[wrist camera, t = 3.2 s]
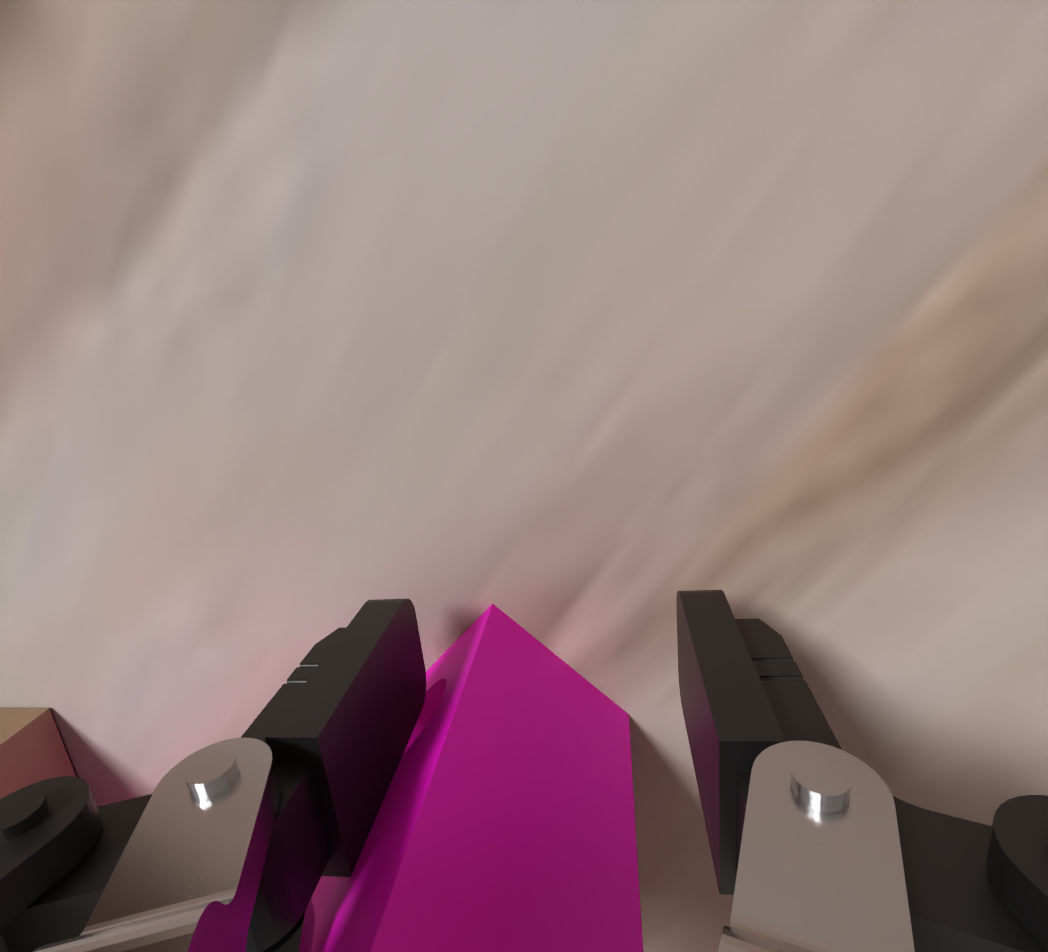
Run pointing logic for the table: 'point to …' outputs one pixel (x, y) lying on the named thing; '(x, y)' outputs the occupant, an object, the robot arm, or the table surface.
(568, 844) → the toy block
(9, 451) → the table surface
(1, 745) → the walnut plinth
